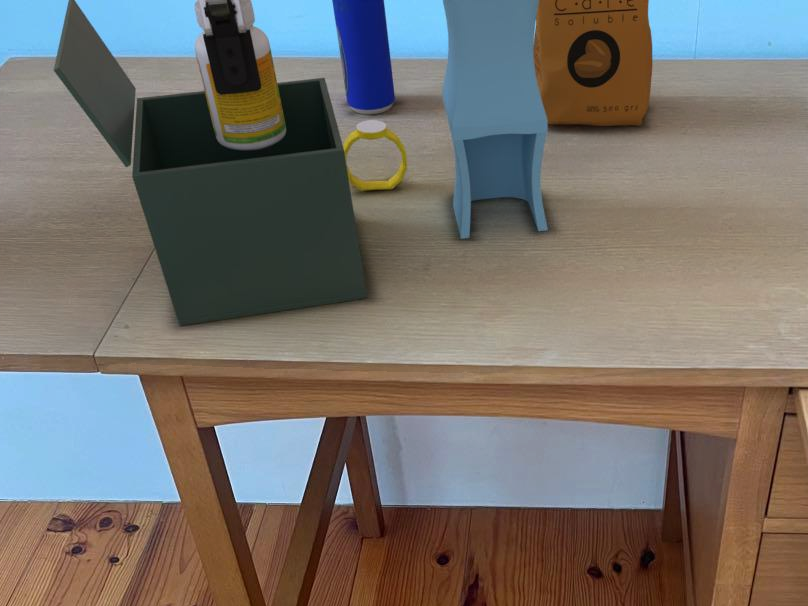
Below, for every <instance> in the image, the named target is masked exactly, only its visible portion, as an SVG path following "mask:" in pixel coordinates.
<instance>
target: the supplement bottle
mask: <svg viewBox="0 0 808 606" xmlns="http://www.w3.org/2000/svg"><path fill="white" fill-rule="evenodd" d="M231 2H232V0H231ZM240 2H241V7H242V12H243V17H244V22H245V27H246V30H249V29H250V32H251V37H252V42H253V47H254V52H255V57H256V62H257V67H258V71H259V76H260V81H261V89H260V90H259V91H253V92H244V93H235V94H225V95H220V94H218V93H217V92H216V89H215V85H214V80H213V76H212V72H211V68H210V63H209V59H208V55H207V51H206V47H205V42H204V38H203V34H205V30H204V25H203V21H202V16H201V12H200V7H199V2H198V0H196V1H195V3H194V6H193V7H194V13H195V16H196V22H197V24H198V26H199V28H200V29H201V30H202V31H203V32H201V33H199V34H198V36H197V37H196V39H195V41H194V45H193V46H194V53H195V58H196V62H197V67H198V69H199V74H200V79H201V82H202V86H203V91H205V95H206V99H207V103H208V107H209V111H210V116H211V120H212V124H213V128H214V132H215V135H216V138H217V140H218V142H219V143H220V144H221V145H223V146H225V147H227V148H230V149H235V150H258V149H263V148H266V147H269V146H271V145H274V144H276V143H277V142H279V141H280V140H281V139H283V137H284V136H285V134H286V125H285V119H284V114H283V109H282V104H281V99H280V94H279V89H278V84H277V83H278V79H277V75H276V70H275V64H274V59H273V54H272V49H271V44H270V40H269V37H268V35H267V34H266V33H265V32H264V31H263V30H262V29H261V28H259V27H257V26H254V24H255V22H256V18H255V12H254V11H255V10H254V7H253V3H252V0H240ZM232 4H233V2H232ZM235 18H236V17H235Z"/></svg>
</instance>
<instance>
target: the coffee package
mask: <svg viewBox="0 0 808 606" xmlns="http://www.w3.org/2000/svg"><path fill="white" fill-rule="evenodd" d="M649 2H650V0H539V3H538V9H537V15H536V22H535V30H534V48H533V55H534V65H535V73H536V78H537V84H538V88H539V92H540V96H541V100H542V103H543V106H544V110H545V113H546V116H547V125H584V126H585V125H587V126H594V127H595V126H596V127H612V126H634V127H635V126H636V127H640V126H641V125H642V123H643V118H644V117H645V116H646V113H647V111H648V109H649V106H650V97H651V87H652V76H653V38H652V29H651V26H650V19H649Z"/></svg>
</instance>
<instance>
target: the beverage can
mask: <svg viewBox="0 0 808 606" xmlns="http://www.w3.org/2000/svg"><path fill="white" fill-rule="evenodd" d="M331 2H332V9H333V14H334V23H335V28H336V29H335V30H336V35H337V44H338V50H339V55H340V63H341V70H342V77H343V82H344V90H345V96H346V103H347V106H349V107H350V108H351V109H352V111H354V112H356V113H358V114H361V115H378V114H381V113H384V112H387V111H389V110H390V109H391V108H392V106H393V105H394V103H395V101H396V95H395V86H394V78H393V68H392V59H391V49H390V41H389V32H388V23H387V16H386V15H387V14H386V6H385V0H331Z"/></svg>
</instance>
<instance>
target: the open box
mask: <svg viewBox="0 0 808 606" xmlns="http://www.w3.org/2000/svg"><path fill="white" fill-rule="evenodd" d="M277 84H278V89H279V94H280V99H281V104H282V109H283V114H284V119H285V125H286V134H285V136H284V137H283V139H281V140H280V141H279V142H277V143H276V144H274V145H271V146H269V147H266V148H263V149H258V150H235V149H230V148H227V147H225V146H223V145H221V144H220V143H219V142H218V140H217V138H216V135H215V132H214V128H213V124H212V120H211V116H210V111H209V107H208V103H207V99H206V95H205V91H204V90H200V91H191V92H182V93H173V94H171V93H170V94H163V95H155V96H145V97H137V98H136V105H135V106H136V108H135V121H134V122H135V125H134V139H133V140H134V141H133V157H132V169H131V173H132V174H131V178H132V181H133V184H134V186H135V189H136V193H137V196H138V199H139V202H140V203H139V204H140V206H141V209H142V212H143V215H144V218H145V222H146V225H147V228H148V231H149V235H150V237H151V241H152V244H153V246H154V250H155V253H156V256H157V259H158V262H159V266H160V268H161V272H162V275H163V279H164V281H165V282H164V283H165V285H166V288H167V291H168V294H169V298H170V300H171V303H172V307H173V309H174V312H175V316H176V319H177V323H178V325H179V327H181V326H187V325H194V324H201V323H209V322H214V321H215V322H216V321H221V320H228V319H235V318H243V317H250V316H256V315H263V314H269V313H275V312H276V313H277V312H282V311H283V312H285V311H290V310H296V309H303V308H309V307H317V306H323V305H324V306H325V305H331V304H337V303H345V302H350V301H351V302H352V301H359V300H364V299H368V294H367V288H366V282H365V275H364V270H363V269H364V267H363V262H362V256H361V250H360V244H359V237H358V230H357V224H356V219H355V211H354V205H353V199H352V193H351V192H352V191H351V186H350V181H349V179H348V172H347V166H348V165H347V166H346V164H347V159H346V160H345V153H344V148H343V140H342V137H341V134H340V130H339V126H338V123H337V119H336V114H335V112H334V108H333V103H332V100H331V97H330V92H329V88H328V85H327V81H326V78H325V77H318V78H309V79H299V80H292V81H290V80H289V81H281V82H277Z"/></svg>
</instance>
